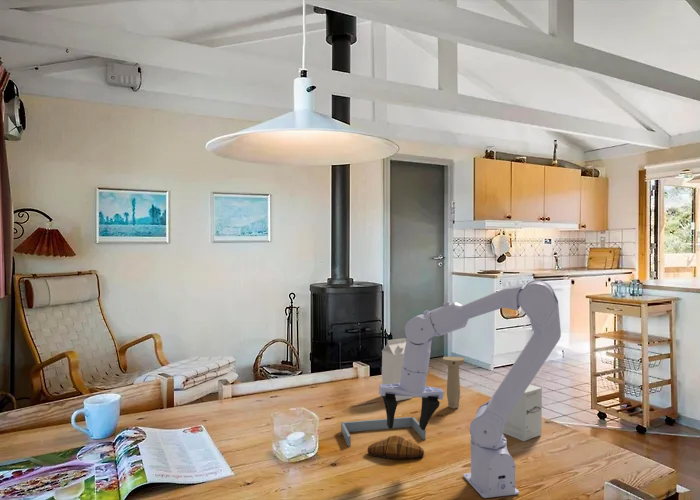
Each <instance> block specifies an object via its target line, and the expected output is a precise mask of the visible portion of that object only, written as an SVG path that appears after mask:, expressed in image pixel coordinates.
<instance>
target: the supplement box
mask: <svg viewBox="0 0 700 500" xmlns="http://www.w3.org/2000/svg"><path fill="white" fill-rule="evenodd" d="M542 391H543V390H542V387H539V386H535V385H532V384H529V386H528V387H527V389H526V390H525V392H524V393H523V395H522V396H521V398H520V399H519V401H518V402H517V404H516V405H515V407H514V408H513V410H512V412H511V414H510V416H509V418H508V420H507V421H506V424H505V426H504V428H503V431H502V433H503V434H504V435H507V436H509V437H512V438H513V439H517V440H519V441H521V442H526V441H528V440H532V439H533V438H536V437H540V436H541V435H542V419H543V418H542V414H543V413H542V412H543V411H542V409H543V408H542V402H543V401H542V400H543V399H542V397H543V396H542Z"/></svg>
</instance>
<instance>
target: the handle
mask: <svg viewBox="0 0 700 500" xmlns="http://www.w3.org/2000/svg"><path fill="white" fill-rule="evenodd" d="M442 363H443V364H444V365H446V366H447V379H446V380H447V381H446V398H447V405H448V408H449V409H459V408H460V407H459V406H460V400H461V398H460V397H461V381H460V367H461V366H462V365H464V364H465V357H461V356H443V357H442Z"/></svg>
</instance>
